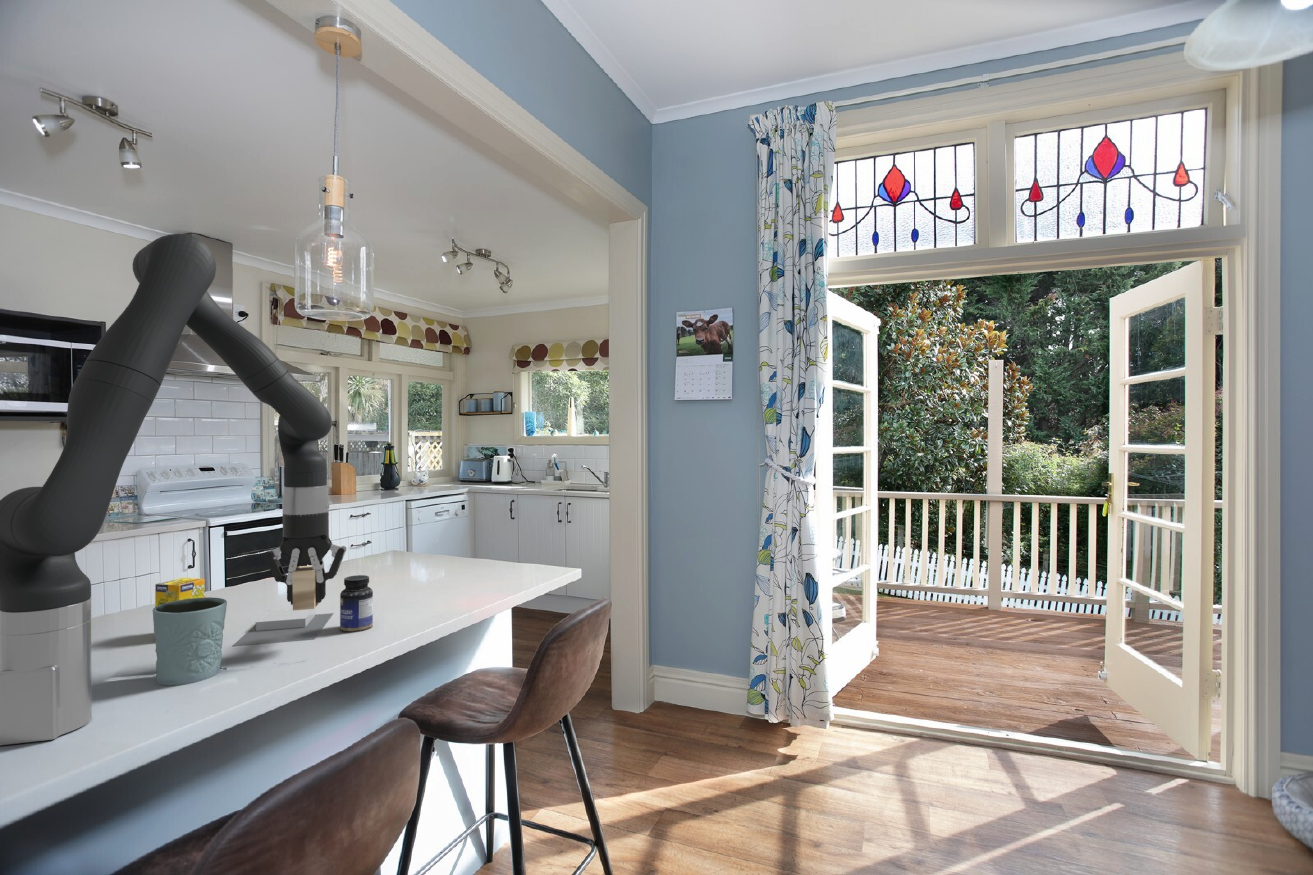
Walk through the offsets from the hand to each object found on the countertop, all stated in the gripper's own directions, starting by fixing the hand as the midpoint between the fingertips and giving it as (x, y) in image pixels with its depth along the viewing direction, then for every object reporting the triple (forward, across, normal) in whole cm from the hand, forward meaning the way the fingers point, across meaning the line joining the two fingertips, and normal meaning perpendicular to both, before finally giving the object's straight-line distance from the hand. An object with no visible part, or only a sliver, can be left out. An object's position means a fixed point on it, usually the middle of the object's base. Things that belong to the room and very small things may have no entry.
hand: (306, 602), depth 119 cm
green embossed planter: (+9, -16, -7) cm, 20 cm away
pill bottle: (+10, +7, +12) cm, 16 cm away
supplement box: (+9, -27, +19) cm, 34 cm away
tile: (+8, -8, +15) cm, 19 cm away
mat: (+9, -7, +15) cm, 19 cm away
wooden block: (+1, 0, +4) cm, 4 cm away
